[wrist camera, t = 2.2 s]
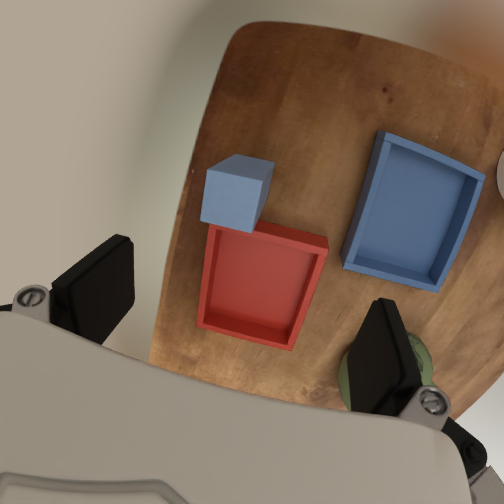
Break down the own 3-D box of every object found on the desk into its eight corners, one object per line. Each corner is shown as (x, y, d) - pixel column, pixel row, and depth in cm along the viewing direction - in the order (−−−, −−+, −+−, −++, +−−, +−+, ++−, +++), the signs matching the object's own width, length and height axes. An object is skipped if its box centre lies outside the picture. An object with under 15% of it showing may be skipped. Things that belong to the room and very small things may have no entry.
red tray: (218, 210, 31) (209, 219, 29) (327, 237, 30) (329, 249, 28) (203, 311, 37) (196, 326, 35) (293, 335, 37) (291, 351, 34)
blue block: (235, 153, 28) (207, 168, 20) (275, 162, 28) (263, 181, 20) (228, 191, 30) (199, 221, 22) (266, 200, 30) (251, 234, 22)
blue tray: (377, 129, 25) (385, 131, 22) (472, 169, 24) (486, 175, 22) (339, 255, 31) (342, 268, 28) (429, 279, 30) (437, 293, 28)
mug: (321, 379, 39) (320, 428, 32) (363, 311, 34) (374, 363, 26) (409, 396, 39) (418, 440, 31) (457, 338, 33) (478, 383, 25)
